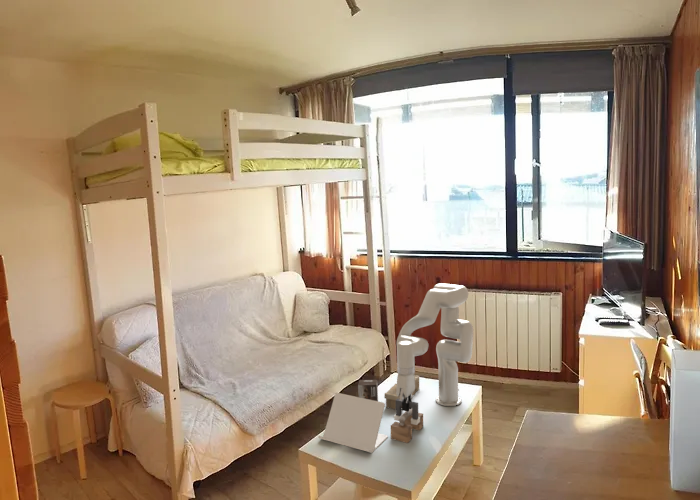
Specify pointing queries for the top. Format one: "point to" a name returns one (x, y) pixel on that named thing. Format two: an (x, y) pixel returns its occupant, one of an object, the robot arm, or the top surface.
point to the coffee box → (368, 389)
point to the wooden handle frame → (405, 427)
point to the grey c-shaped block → (414, 406)
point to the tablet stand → (355, 422)
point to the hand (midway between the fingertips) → (406, 409)
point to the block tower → (392, 394)
